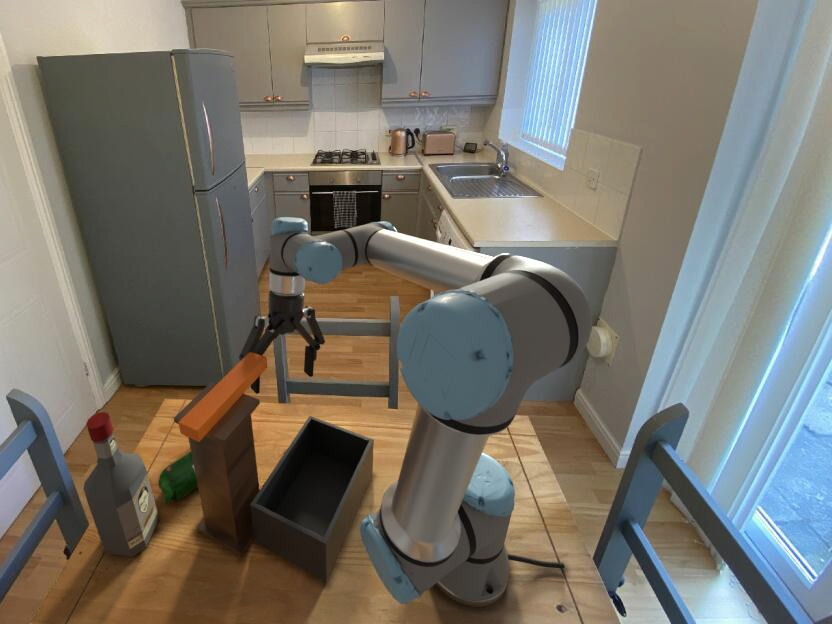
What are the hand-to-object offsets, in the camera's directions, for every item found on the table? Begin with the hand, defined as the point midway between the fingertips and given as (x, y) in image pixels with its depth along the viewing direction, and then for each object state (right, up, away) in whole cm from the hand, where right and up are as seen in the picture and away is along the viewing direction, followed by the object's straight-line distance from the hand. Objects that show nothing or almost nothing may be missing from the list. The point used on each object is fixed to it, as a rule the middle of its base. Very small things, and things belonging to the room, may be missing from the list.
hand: (282, 382), depth 93 cm
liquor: (-29, -27, -9) cm, 41 cm away
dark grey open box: (+8, -24, -5) cm, 26 cm away
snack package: (-20, -22, +2) cm, 30 cm away
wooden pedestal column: (-9, -26, -7) cm, 28 cm away
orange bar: (-9, +3, -16) cm, 19 cm away
